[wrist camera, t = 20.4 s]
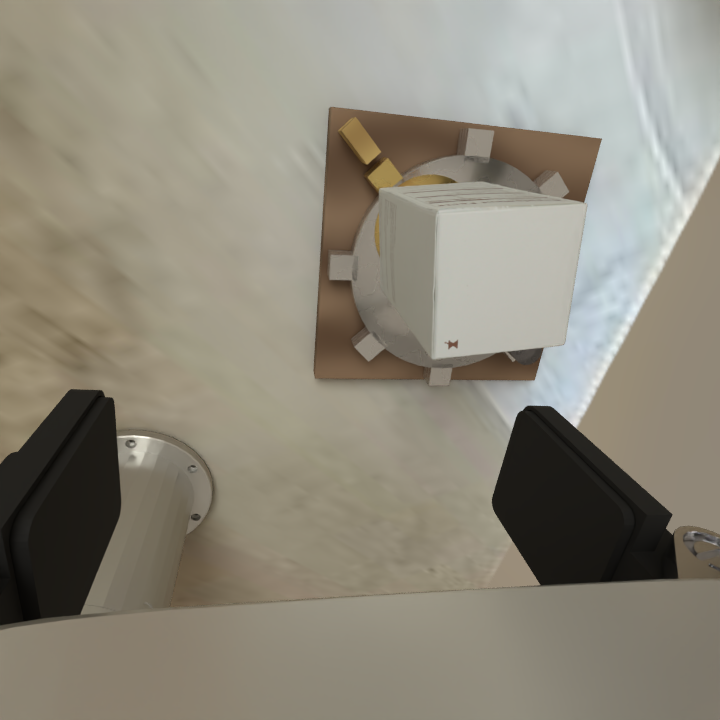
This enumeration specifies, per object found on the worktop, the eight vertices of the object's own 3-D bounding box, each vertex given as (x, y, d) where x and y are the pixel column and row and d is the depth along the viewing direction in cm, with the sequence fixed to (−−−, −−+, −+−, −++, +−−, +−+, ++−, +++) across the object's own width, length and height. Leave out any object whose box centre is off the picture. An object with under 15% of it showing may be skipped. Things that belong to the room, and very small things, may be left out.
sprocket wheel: (606, 272, 39) (658, 294, 34) (426, 416, 42) (449, 456, 37) (483, 62, 31) (527, 46, 25) (273, 259, 34) (272, 282, 29)
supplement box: (474, 283, 35) (567, 351, 24) (378, 290, 34) (428, 365, 23) (482, 178, 32) (594, 201, 21) (377, 183, 31) (434, 209, 20)
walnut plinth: (526, 372, 44) (545, 390, 41) (313, 370, 40) (316, 389, 37) (589, 138, 36) (619, 138, 33) (329, 108, 32) (334, 105, 29)
